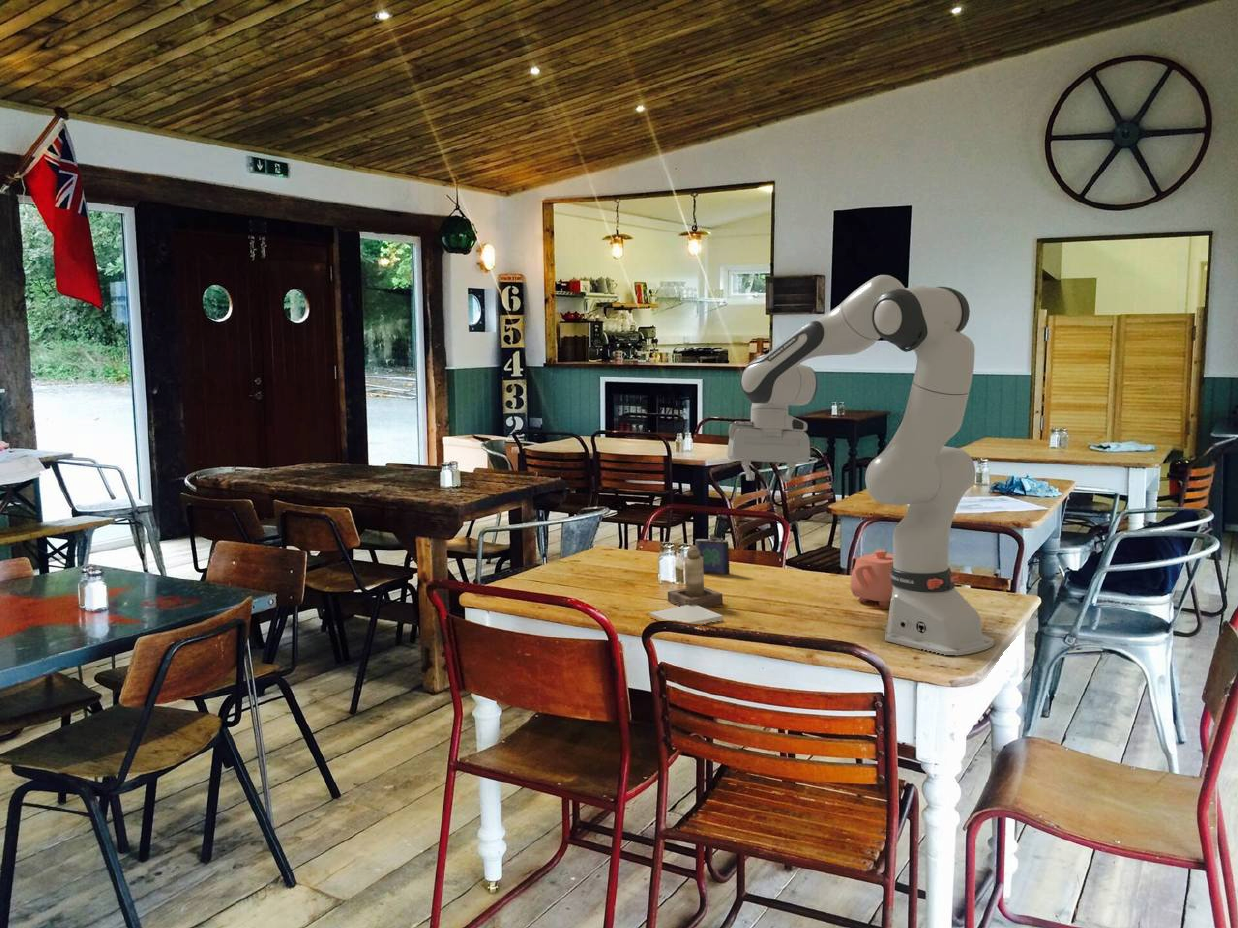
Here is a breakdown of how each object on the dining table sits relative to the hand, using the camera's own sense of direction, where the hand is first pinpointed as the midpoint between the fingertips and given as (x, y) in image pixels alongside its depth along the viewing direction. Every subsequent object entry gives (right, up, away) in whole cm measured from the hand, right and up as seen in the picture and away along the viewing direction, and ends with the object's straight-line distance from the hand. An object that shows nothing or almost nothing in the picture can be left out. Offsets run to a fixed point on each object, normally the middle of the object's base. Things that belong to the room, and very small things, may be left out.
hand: (768, 481), depth 243 cm
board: (-20, -31, -10) cm, 39 cm away
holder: (-17, -29, +2) cm, 34 cm away
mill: (-17, -29, +2) cm, 34 cm away
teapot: (+27, -28, -1) cm, 39 cm away
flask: (-10, -25, +31) cm, 41 cm away
